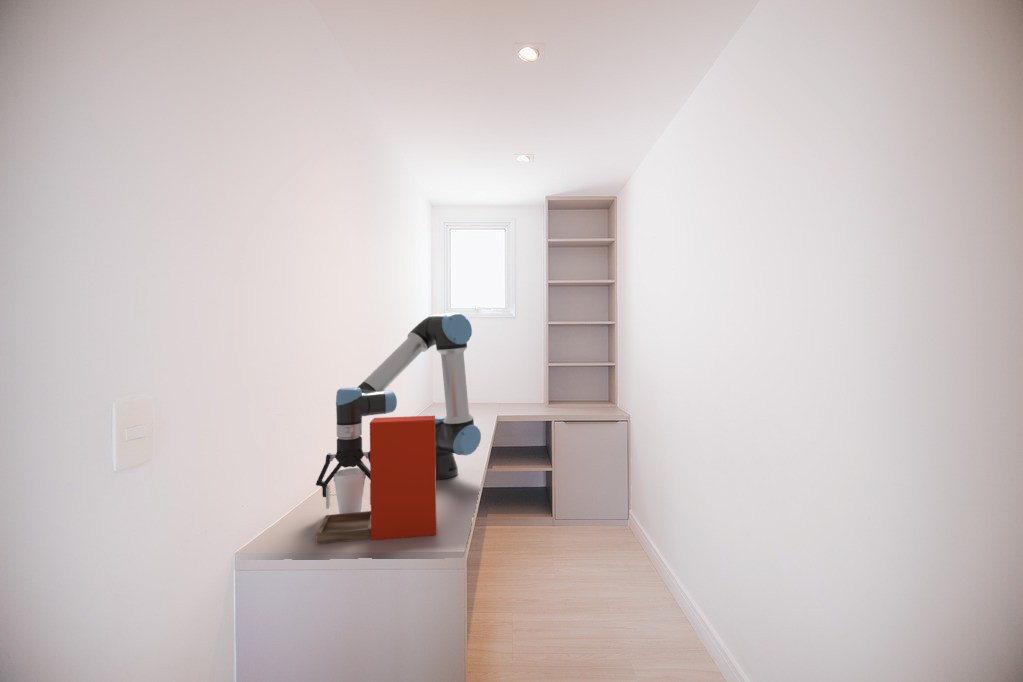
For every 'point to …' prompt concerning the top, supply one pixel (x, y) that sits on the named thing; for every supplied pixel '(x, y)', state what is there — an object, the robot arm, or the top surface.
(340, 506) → the foam cup
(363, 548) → the top surface
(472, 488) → the top surface
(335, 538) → the square wooden tray
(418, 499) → the file binder
